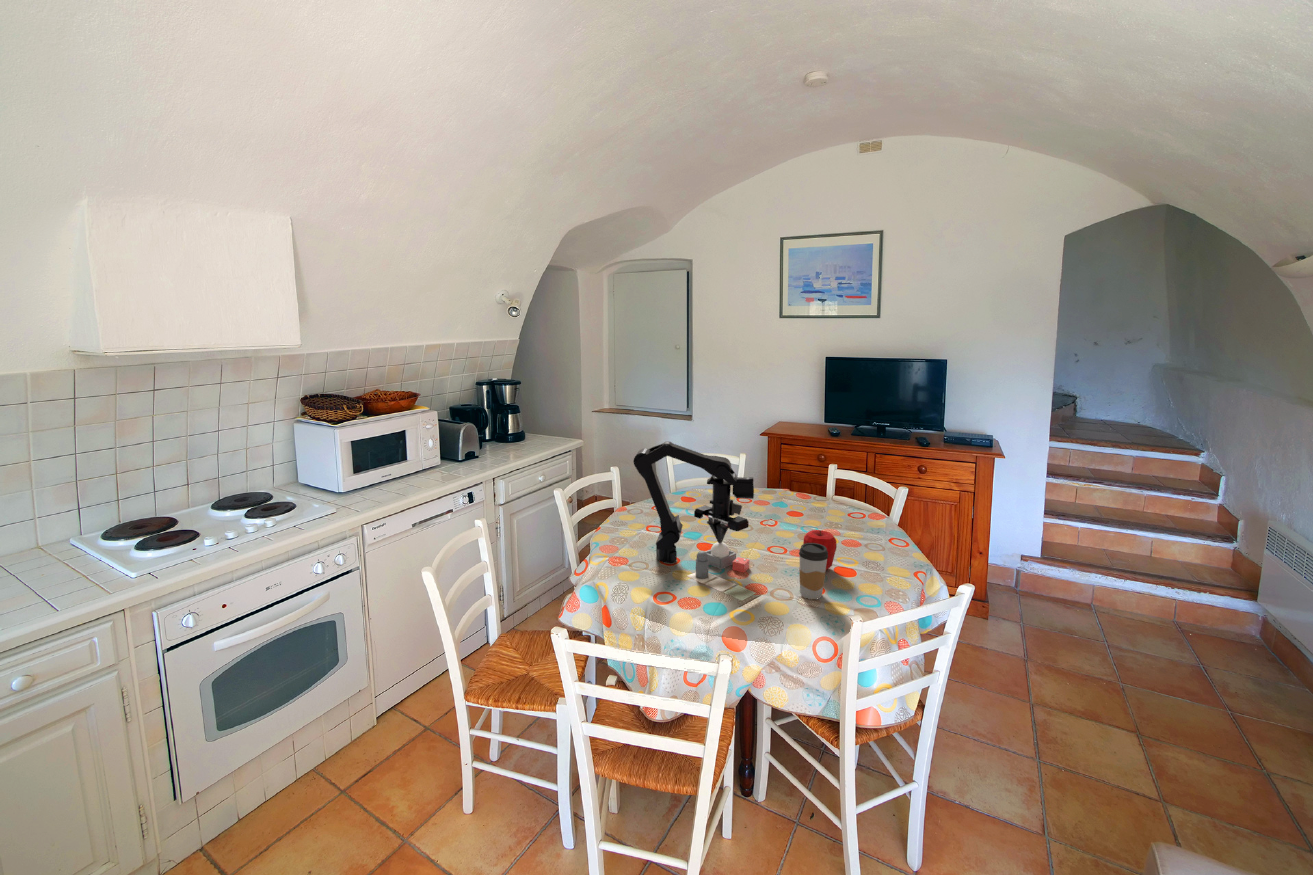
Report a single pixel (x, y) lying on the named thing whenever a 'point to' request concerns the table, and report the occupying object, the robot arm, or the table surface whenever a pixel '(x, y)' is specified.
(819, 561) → the coffee cup
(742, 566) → the red die
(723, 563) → the dome housing
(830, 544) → the apple
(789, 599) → the table surface
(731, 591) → the game board
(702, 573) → the pawn
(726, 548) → the dome
